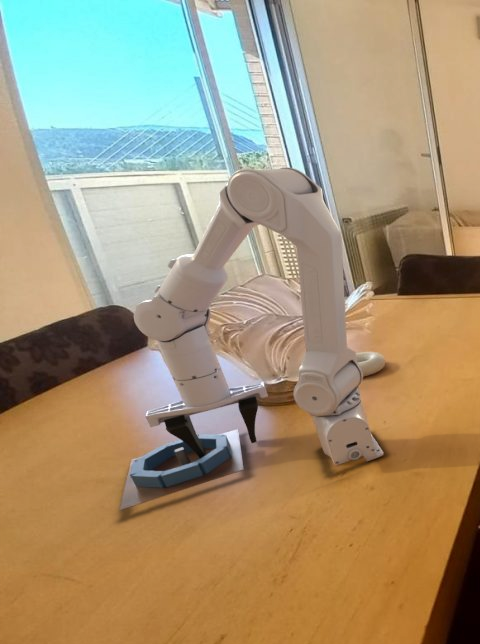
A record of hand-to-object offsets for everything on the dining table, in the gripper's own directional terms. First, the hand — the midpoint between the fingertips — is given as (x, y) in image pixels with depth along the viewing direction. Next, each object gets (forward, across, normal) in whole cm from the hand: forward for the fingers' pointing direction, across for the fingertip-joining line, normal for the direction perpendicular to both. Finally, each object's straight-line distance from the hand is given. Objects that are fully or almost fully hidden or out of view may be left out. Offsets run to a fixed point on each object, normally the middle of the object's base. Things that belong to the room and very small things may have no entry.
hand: (229, 447), depth 78 cm
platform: (+2, +6, 0) cm, 6 cm away
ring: (+1, +6, 0) cm, 6 cm away
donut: (+2, -25, -24) cm, 35 cm away
